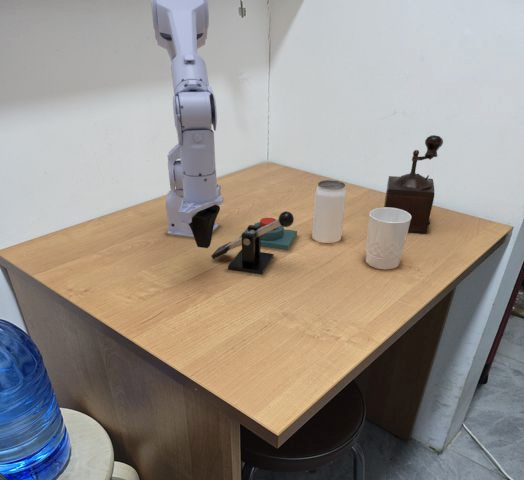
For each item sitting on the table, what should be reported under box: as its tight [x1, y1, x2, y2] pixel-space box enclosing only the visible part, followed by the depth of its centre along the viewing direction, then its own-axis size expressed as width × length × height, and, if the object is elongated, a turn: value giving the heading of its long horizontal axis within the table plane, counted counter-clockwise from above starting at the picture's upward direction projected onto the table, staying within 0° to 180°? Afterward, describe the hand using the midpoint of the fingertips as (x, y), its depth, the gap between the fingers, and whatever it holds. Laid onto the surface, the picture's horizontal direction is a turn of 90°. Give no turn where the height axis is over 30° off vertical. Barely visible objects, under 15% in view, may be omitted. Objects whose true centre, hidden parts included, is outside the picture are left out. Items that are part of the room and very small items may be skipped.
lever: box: [210, 211, 295, 260], centre depth 94 cm, size 18×4×3 cm
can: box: [311, 179, 347, 244], centre depth 104 cm, size 6×6×12 cm
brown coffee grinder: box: [383, 134, 444, 234], centre depth 112 cm, size 16×11×18 cm
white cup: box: [365, 206, 412, 270], centre depth 96 cm, size 8×8×10 cm
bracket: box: [227, 224, 275, 276], centre depth 95 cm, size 7×8×7 cm
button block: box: [239, 221, 298, 251], centre depth 106 cm, size 11×8×3 cm
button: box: [259, 217, 277, 231], centre depth 104 cm, size 4×4×2 cm
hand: (203, 246), depth 90 cm, fingers closed
